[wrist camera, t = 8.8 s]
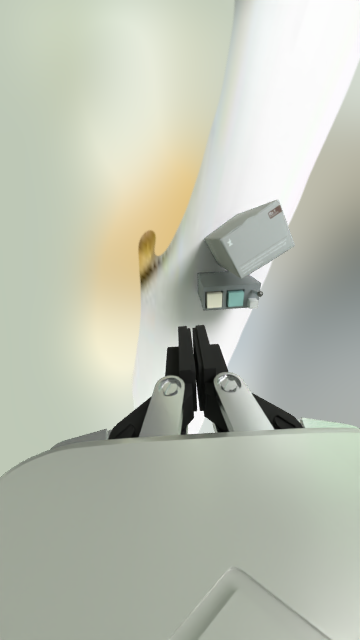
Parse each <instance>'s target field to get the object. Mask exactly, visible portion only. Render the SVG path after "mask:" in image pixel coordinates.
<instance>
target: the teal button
mask: <svg viewBox="0 0 360 640" xmlns="http://www.w3.org/2000/svg"><path fill="white" fill-rule="evenodd" d="M243 300H244V291H243V290H242V289H240V290H227V294H226V304H227V305H228V307H234V306H243Z"/></svg>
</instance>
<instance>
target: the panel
mask: <svg viewBox="0 0 360 640" xmlns="http://www.w3.org/2000/svg"><path fill="white" fill-rule="evenodd" d="M260 286H261V283H260V282H259V281H257V280H256V279H254V278H253V277H252V276H250V275H247V276H245V277H244V278H242V279H241V278H239V277H238V276H236V275H234V274H233V273H231V272H230V271H224V272H210V273H198V294H199V297H200V300H201V304H202V307H203V310H218V309H233V308H247V307H248V306H247V301H248V298H256V299H257V300H259V296H257V295H256V294H254V293H252V292H251V289H255V290H257V291H260ZM240 289H242V290H243V291H244V300H243V306H234V307H228V305H227V304H226V294H227V290H240ZM211 291H221V292H222V307H219V308H207V306H206V303H205V292H211Z"/></svg>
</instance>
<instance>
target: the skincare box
mask: <svg viewBox="0 0 360 640" xmlns="http://www.w3.org/2000/svg"><path fill="white" fill-rule="evenodd" d="M204 240H205V242H206V243H207V245H208V247H209V249H210V250H211V252H212V254H213V256H214V258H215V259H216V261H217V263H218V264H219V265H220V266H222V267H223V268H225V269H226V270H228V271H230V272H231V273H233V274H234V275H236V276H238V277H239V278H241V279H242V278H244V277H245V276H247V275H249V274H250V273H252V272H254V271H255V270H257V269H259V268H260V267H262V266H264V265H265V264H267V263H269V262H270V261H272V260H273V259H275V258H277V257H278V256H280V255H281V254H283V253H284V252H286V251H288V250H289V249H291V248H292V247H294V246H295V244H294V242H293V239H292V236H291V233H290V230H289V227H288V225H287V222H286V219H285V216H284V213H283V211H282V208H281V205H280V202H279V200H275V201H272V202H269V203H267V204H264V205H261V206H259V207H256V208H253V209H251V210H248V211H245V212H243V213H240V214H237V215H236V216H234V217H233V218H231V219H230V220H229V221H227V222H226V223H224V224H223V225H222V226H220V227H219V228H218V229H216V230H215V231H214V232H212V233H211V234H210V235H208V236H207V237H206V238H204Z"/></svg>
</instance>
